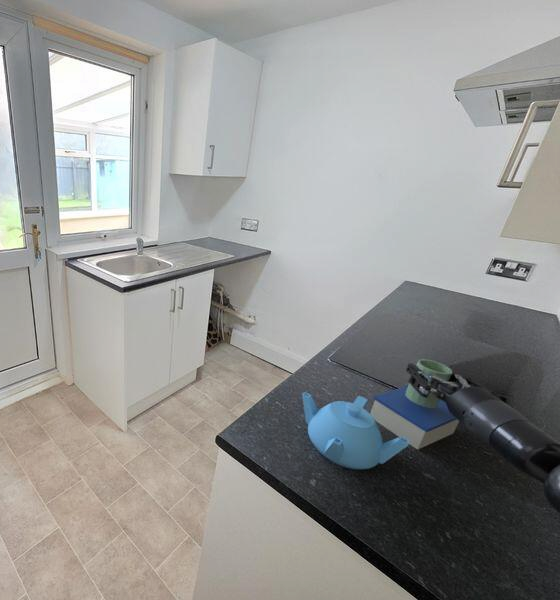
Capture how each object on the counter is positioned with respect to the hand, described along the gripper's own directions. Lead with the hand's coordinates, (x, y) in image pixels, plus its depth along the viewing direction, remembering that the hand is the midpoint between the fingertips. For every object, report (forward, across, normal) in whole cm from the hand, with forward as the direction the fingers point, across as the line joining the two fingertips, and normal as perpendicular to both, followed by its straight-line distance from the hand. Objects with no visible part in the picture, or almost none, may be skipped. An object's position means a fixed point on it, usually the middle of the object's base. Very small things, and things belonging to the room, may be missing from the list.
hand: (424, 368), depth 72 cm
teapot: (-12, +21, +15) cm, 28 cm away
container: (-2, 0, +14) cm, 15 cm away
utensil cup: (-2, 0, +7) cm, 7 cm away
